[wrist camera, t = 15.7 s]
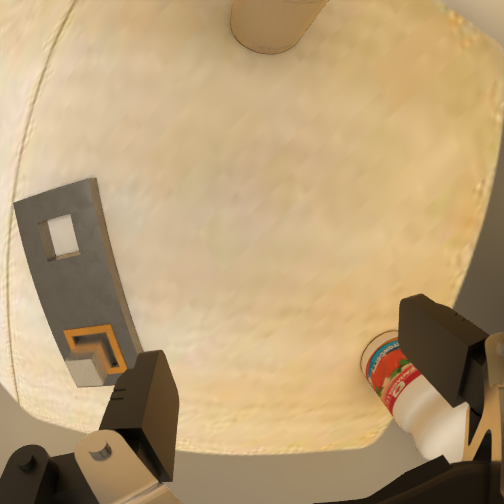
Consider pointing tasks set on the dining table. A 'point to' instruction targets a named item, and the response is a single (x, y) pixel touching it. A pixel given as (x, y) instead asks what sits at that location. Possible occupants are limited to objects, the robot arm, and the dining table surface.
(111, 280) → the grey board with holes
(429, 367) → the robot arm
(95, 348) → the grey square peg
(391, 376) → the fruit juice
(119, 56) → the dining table surface
